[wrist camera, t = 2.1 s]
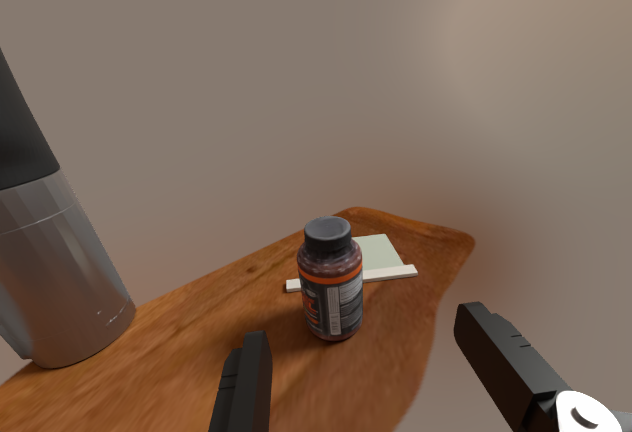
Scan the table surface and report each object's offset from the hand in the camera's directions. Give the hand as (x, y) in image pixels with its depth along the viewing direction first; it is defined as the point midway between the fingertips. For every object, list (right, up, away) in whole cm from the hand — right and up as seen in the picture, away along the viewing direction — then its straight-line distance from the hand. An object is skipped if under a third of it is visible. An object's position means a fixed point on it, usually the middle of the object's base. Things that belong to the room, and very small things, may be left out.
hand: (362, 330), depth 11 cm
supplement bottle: (0, -6, +17) cm, 18 cm away
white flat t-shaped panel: (+2, -2, +25) cm, 25 cm away
